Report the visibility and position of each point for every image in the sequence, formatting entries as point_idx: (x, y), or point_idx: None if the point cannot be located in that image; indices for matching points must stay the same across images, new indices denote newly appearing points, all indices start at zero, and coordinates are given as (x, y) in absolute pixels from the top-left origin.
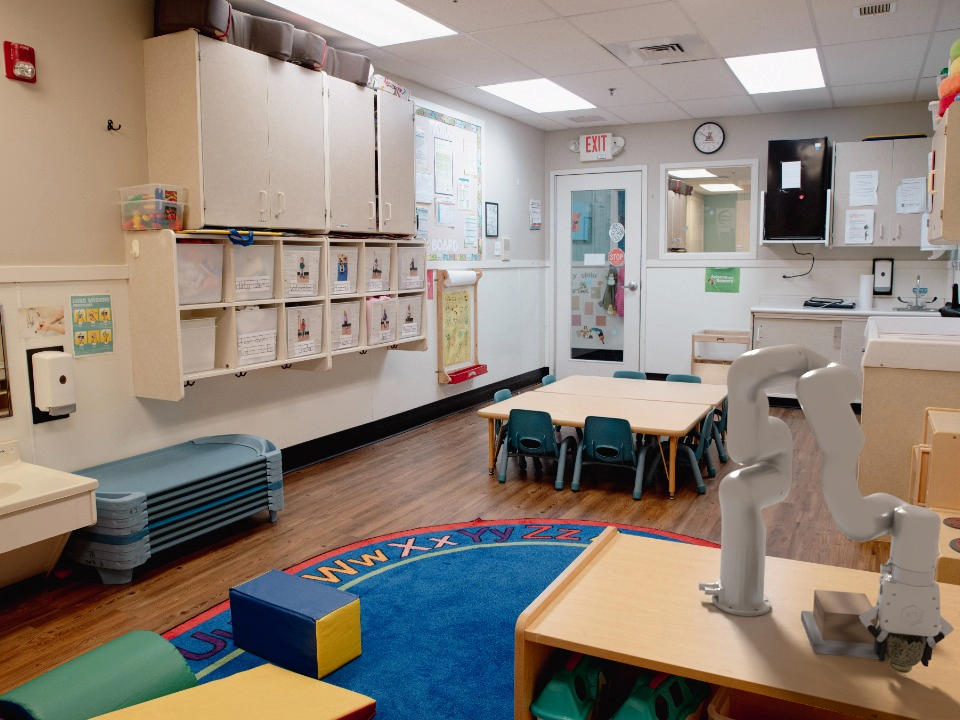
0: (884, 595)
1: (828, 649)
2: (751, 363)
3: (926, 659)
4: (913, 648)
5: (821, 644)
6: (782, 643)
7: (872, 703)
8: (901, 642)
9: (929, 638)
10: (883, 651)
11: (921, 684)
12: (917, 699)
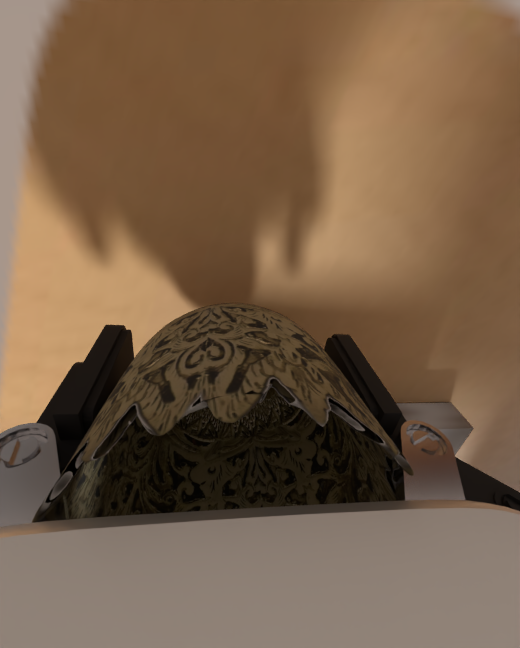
0: None
1: (421, 416)
2: None
3: (106, 348)
4: (222, 363)
5: (452, 428)
6: (501, 428)
7: (478, 55)
8: (344, 404)
9: (22, 504)
10: (363, 370)
11: (156, 265)
12: (221, 118)
